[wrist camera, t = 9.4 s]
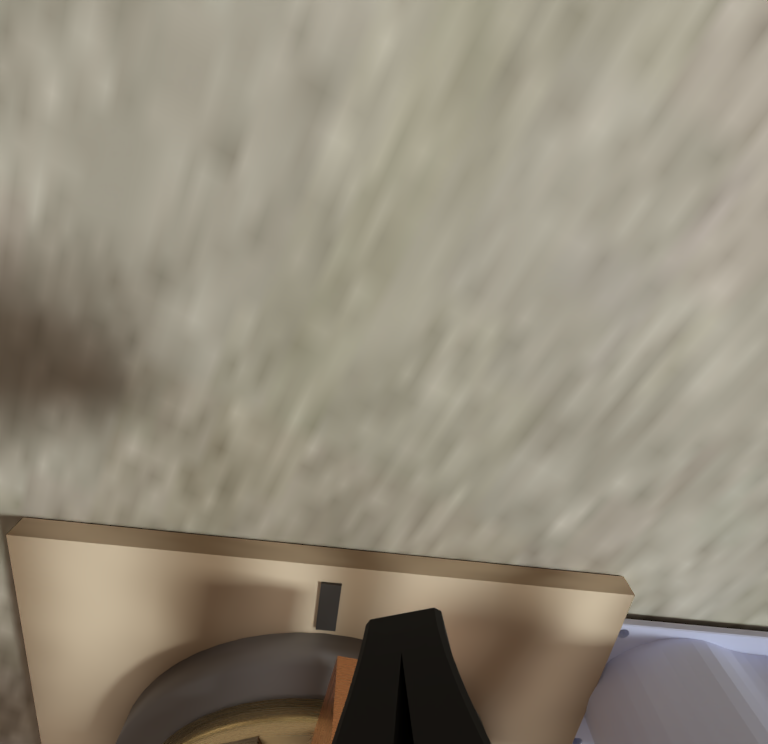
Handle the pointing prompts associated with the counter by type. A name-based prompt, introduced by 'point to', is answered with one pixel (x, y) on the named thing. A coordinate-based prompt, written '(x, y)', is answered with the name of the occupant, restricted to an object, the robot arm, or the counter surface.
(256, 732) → the studded brass disc
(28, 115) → the counter surface
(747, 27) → the counter surface
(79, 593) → the nut base
